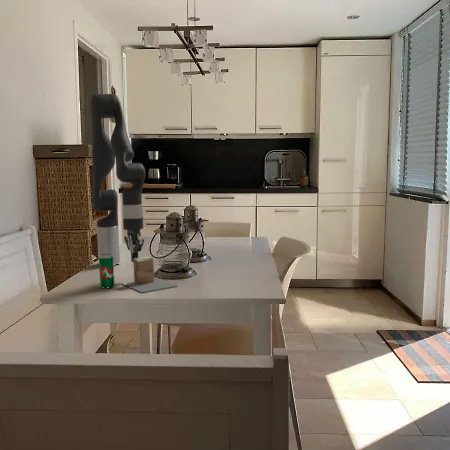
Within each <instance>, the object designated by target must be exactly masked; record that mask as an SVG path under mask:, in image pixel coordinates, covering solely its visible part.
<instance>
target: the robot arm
mask: <svg viewBox="0 0 450 450" xmlns="http://www.w3.org/2000/svg"><path fill="white" fill-rule="evenodd" d="M89 103H90V105H89V106H90V107H89V108H90V119H91V134H92V137H91V138H92V144H91V145H92V147H91V148H92V149H91V153H92V154H91V160H92V161H91V164H92V189H91V190H92V192H91V205H92V209H93V210H94V211H96V212H107V211H109V213H108V214H107V215H105V216H104V217H101V218H99V219H97V220H96V233H97V234H96V235H97V238H96V239H97V254H98V259H99V257H100V254H105V253H110V254H112V256H113V261H114V264H118V263H120V264H121V255H120V253H121V252H120V250H121V249H120V233H119V231H120V230H119V213H118V212H119V208H118V207H119V199H118V198H119V197H118V193H117V190H116V189H114V188H113V189H102V185H103V183H104V182H105V180H106V178H107V177H108V175H109V174H110V173H111V171H112V170H113V168H114V166H115V170H116V171H115V175H116V177H117V179H118V181H120V182H122V183H132V185H131V187H129V188H126V189H123V190H122V193H121V194H122V195H121V196H122V197H121V198H122V229H123V231H124V230H125V231H126V236H124V242H125V244H126V248H127V250H128V251H129V253H130V257H131V258H130V261H131V262H132V263H133V264H134V260H133V259H135V258H139V253H140V252H141V251H142V249H143V246H144V243H145V239H144V238H142V235H141V234H142V233H141V230H143V229H144V211H143V204H142V203H143V200H142V192H143V188H144V182H145V179H146V169H145V166H144V165H143V164H142V163H139V162H131V161H132V160H133V159H134V157H135V152H134V149H133V147H132V145H131V142H130V139H129V136H128V132H127V128H126V122H125V117H124V112H123V108H122V103H121V100H120V98H119V96H118V95H117V94H115V93H99V94H92V96H91V98H90V102H89ZM102 119H114V122H115V124H114V129H113V130H112V134H111V138H110V137H109V136H108V135H107V133H106V132H105V129H104V128H103V124H102Z"/></svg>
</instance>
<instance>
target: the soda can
mask: <svg viewBox="0 0 450 450" xmlns="http://www.w3.org/2000/svg"><path fill="white" fill-rule="evenodd" d="M98 269H99V270H98V271H99V285H100V288H101V287H104V288H107V287H112V288H114V287H115V285H116V283H115V266H114V261H113V256H112V254H110V253H105V254H100V257H99V258H98ZM113 286H114V287H113ZM104 288H103V289H104Z"/></svg>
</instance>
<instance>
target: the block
mask: <svg viewBox="0 0 450 450" xmlns="http://www.w3.org/2000/svg"><path fill="white" fill-rule="evenodd" d="M133 260H134V263H133V277H134V278H133V282H134V283H136V284H139V285H140V284H146V283H152V282H154V278H155V272H154V271H155V270H154V267H155V266H154V258H153V257H152V256H151V257H150V256H145V257H142V256H141V257H138V258H135V259H133Z"/></svg>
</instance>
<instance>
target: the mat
mask: <svg viewBox="0 0 450 450" xmlns="http://www.w3.org/2000/svg"><path fill="white" fill-rule="evenodd" d="M126 283H127V284H126V285H127V286H129V287H131V288H133V289H135V290H134V291H136V290H137V291H136V292H138V291H139V293H140V292H146V293H150V292H149V291H152V292H157V291H161V290H166V289H167V290H168V289H172V288H177V287H178V285H177V284H175V283H172V282H169V281H166V280H164V279H161V278H158V277H154V282H152V283H146V284H140V285H139V284H136V283H134V281H128V282H126ZM127 286H126V287H127ZM129 287H128V288H129ZM131 288H130V289H131ZM133 289H132V290H133Z"/></svg>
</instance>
